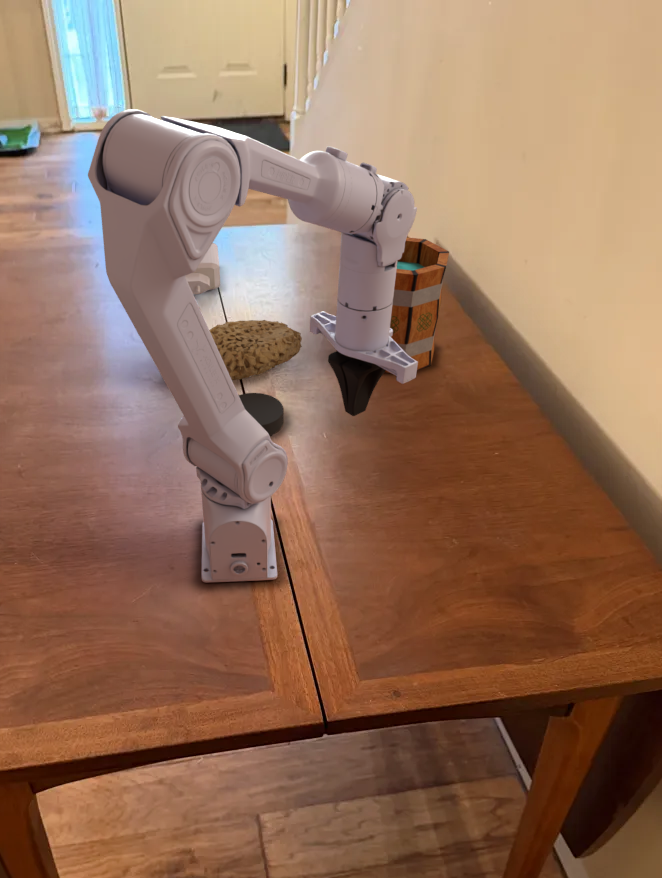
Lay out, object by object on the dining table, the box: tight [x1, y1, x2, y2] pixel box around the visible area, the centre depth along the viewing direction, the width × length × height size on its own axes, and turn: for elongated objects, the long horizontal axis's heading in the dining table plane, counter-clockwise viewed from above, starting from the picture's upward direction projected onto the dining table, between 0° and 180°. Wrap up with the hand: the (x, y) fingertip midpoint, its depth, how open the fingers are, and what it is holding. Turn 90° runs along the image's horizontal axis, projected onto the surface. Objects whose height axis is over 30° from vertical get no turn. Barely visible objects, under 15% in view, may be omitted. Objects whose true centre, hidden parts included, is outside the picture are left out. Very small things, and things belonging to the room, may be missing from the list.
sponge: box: [209, 319, 303, 381], centre depth 111 cm, size 13×8×20 cm
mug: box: [384, 236, 450, 374], centre depth 115 cm, size 20×14×15 cm
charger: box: [186, 242, 221, 295], centre depth 132 cm, size 5×9×15 cm
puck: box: [238, 392, 285, 437], centre depth 103 cm, size 8×8×2 cm
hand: (355, 410), depth 89 cm, fingers closed
